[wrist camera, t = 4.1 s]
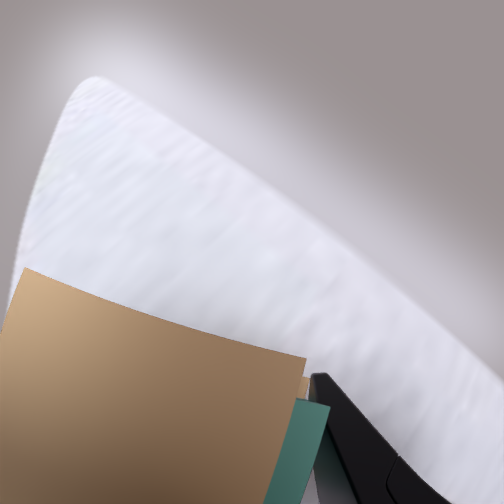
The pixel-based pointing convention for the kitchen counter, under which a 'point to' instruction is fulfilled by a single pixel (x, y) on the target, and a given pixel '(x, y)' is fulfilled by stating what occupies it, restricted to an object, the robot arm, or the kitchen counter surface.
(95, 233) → the kitchen counter surface
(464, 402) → the kitchen counter surface
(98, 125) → the kitchen counter surface
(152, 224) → the kitchen counter surface
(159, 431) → the oak finger
